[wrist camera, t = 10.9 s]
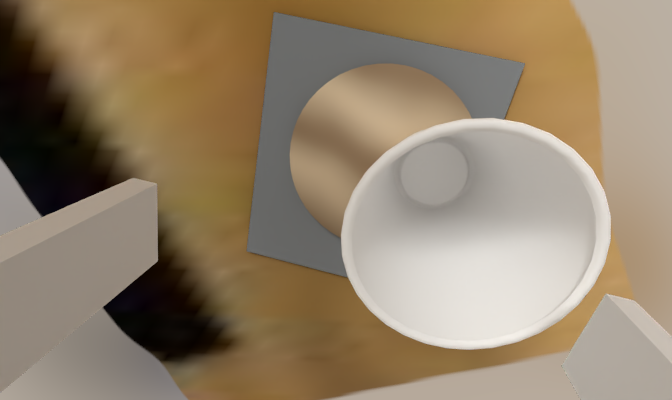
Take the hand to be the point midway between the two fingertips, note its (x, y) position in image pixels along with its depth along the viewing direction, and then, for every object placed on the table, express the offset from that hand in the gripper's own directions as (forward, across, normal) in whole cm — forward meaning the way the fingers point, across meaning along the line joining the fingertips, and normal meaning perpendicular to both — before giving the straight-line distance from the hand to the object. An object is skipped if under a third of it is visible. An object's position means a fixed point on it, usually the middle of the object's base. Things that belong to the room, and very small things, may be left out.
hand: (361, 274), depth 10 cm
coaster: (+15, 0, 0) cm, 15 cm away
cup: (+15, +4, 0) cm, 15 cm away
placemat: (+16, -1, -2) cm, 16 cm away
